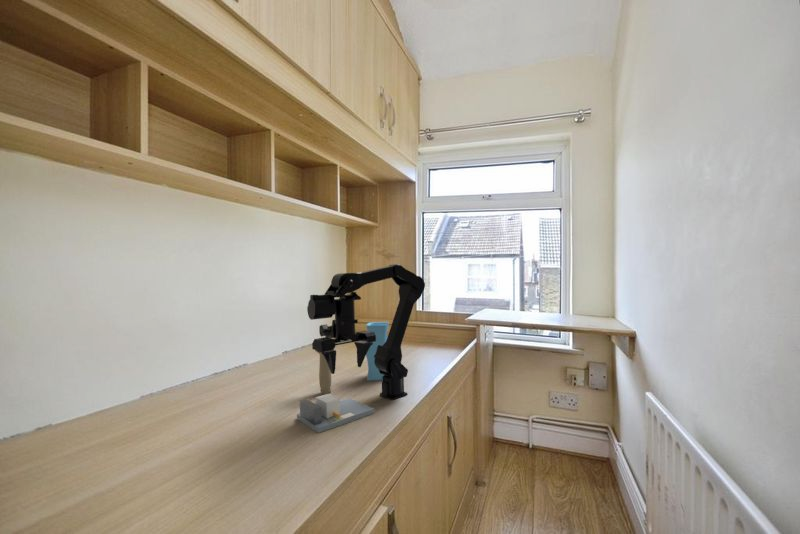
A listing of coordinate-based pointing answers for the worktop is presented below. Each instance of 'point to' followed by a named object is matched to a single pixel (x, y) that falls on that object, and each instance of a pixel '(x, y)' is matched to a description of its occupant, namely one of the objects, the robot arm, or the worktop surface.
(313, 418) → the dark grey upright slab
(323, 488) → the worktop surface
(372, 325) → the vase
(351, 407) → the board
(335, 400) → the block
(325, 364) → the handle
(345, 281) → the robot arm
